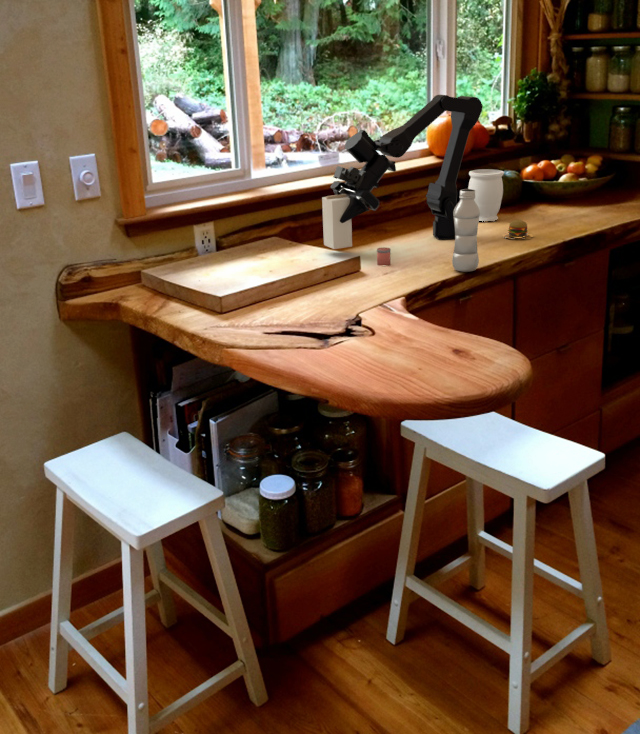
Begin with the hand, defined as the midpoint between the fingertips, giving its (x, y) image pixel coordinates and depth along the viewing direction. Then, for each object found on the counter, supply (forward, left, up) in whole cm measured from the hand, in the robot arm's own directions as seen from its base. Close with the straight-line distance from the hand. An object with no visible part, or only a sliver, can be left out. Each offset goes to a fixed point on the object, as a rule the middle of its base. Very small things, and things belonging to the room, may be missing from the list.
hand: (335, 220), depth 221 cm
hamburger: (-54, -5, -10) cm, 55 cm away
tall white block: (-1, 0, -7) cm, 7 cm away
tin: (-10, +14, -9) cm, 19 cm away
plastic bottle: (-28, +26, -10) cm, 39 cm away
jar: (-52, -29, -10) cm, 61 cm away
